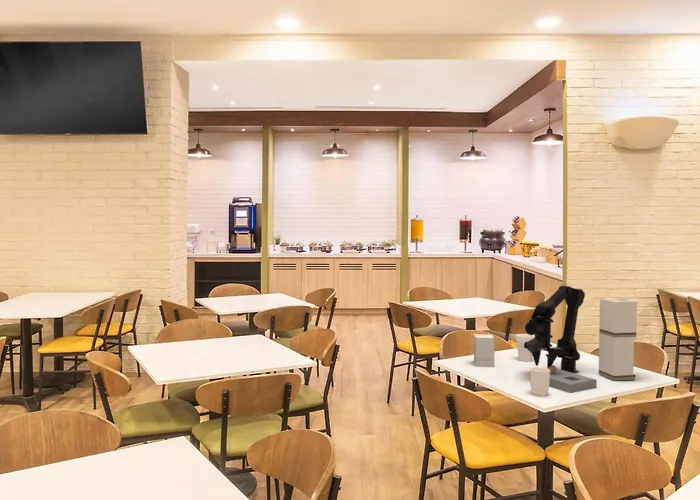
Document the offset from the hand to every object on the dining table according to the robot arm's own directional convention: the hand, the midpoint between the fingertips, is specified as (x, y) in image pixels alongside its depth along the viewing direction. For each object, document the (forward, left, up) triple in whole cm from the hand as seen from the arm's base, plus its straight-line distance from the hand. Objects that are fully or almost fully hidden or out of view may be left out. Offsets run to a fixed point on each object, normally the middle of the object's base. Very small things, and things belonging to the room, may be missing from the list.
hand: (542, 367), depth 258 cm
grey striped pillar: (-32, +14, -5) cm, 35 cm away
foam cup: (-18, -28, -5) cm, 34 cm away
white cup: (+20, +17, -5) cm, 26 cm away
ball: (0, +6, 0) cm, 6 cm away
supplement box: (+8, -30, -5) cm, 32 cm away
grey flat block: (0, +11, -5) cm, 12 cm away
